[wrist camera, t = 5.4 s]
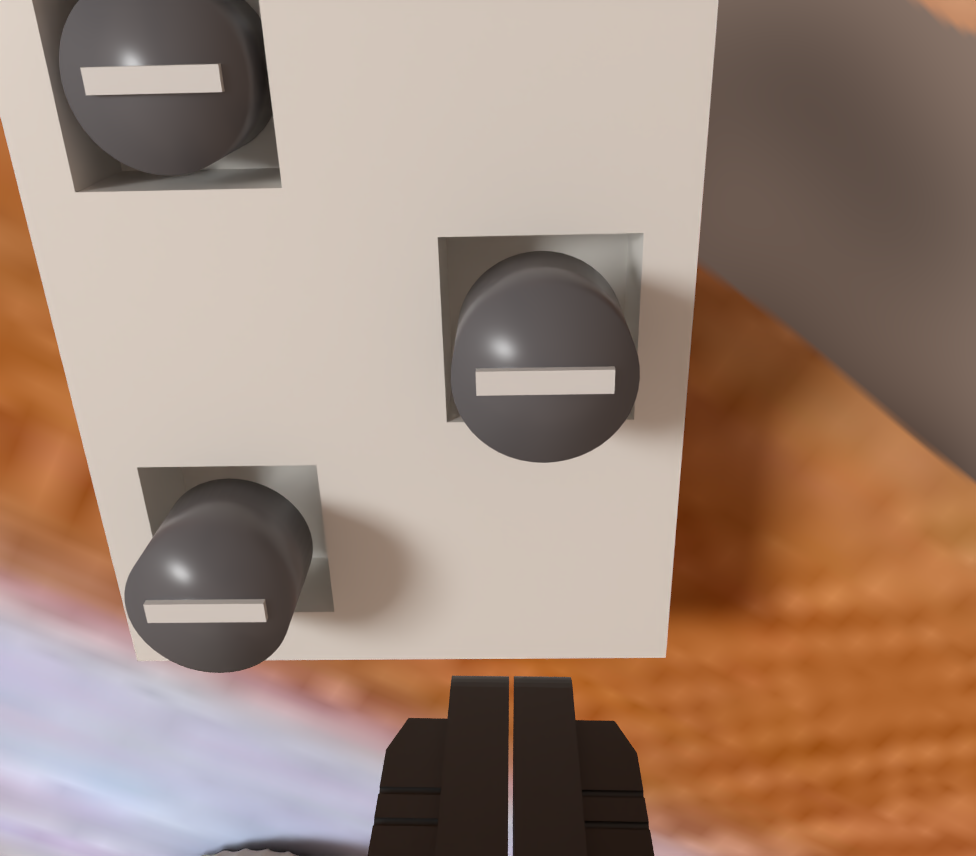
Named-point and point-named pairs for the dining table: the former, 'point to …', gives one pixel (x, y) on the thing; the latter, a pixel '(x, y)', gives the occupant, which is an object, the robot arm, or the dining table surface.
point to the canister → (252, 853)
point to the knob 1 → (166, 79)
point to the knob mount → (388, 308)
